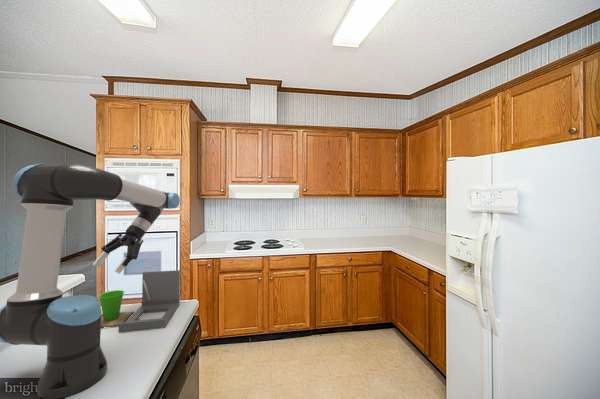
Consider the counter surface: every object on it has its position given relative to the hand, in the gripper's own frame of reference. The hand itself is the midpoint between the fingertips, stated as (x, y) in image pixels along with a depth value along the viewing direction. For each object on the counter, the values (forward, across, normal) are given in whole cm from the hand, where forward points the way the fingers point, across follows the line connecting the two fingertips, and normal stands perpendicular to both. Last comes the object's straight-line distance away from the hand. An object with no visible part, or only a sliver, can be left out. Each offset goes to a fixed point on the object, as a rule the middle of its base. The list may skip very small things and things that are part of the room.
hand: (105, 269), depth 108 cm
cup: (+16, -3, -16) cm, 23 cm away
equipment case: (+10, -17, -22) cm, 29 cm away
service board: (+17, -3, -16) cm, 23 cm away
